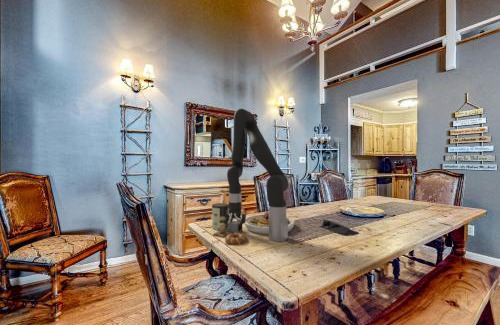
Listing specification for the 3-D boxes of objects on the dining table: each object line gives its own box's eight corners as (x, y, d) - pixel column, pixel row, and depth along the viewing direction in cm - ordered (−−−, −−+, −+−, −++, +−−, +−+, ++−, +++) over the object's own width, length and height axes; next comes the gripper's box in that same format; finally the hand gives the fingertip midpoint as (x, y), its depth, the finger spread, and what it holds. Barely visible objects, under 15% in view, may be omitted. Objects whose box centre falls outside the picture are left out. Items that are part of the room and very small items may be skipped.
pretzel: (231, 247, 108) (231, 240, 108) (220, 241, 117) (220, 234, 117) (251, 242, 115) (251, 235, 115) (240, 236, 124) (240, 229, 124)
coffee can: (229, 225, 145) (229, 203, 144) (227, 230, 134) (227, 206, 134) (213, 225, 145) (213, 203, 145) (210, 230, 134) (210, 206, 134)
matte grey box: (242, 230, 132) (242, 222, 132) (236, 233, 127) (236, 224, 127) (234, 229, 135) (234, 220, 135) (228, 231, 130) (228, 223, 130)
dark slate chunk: (341, 239, 120) (341, 230, 120) (316, 227, 141) (316, 219, 141) (364, 236, 125) (364, 227, 125) (336, 225, 146) (336, 217, 146)
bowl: (298, 237, 123) (298, 222, 123) (243, 236, 123) (243, 222, 123) (289, 221, 153) (289, 210, 153) (245, 221, 153) (245, 210, 153)
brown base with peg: (231, 234, 127) (231, 223, 127) (223, 237, 121) (223, 226, 121) (221, 231, 131) (221, 221, 131) (213, 235, 125) (213, 224, 125)
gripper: (249, 201, 130) (249, 230, 130) (229, 198, 138) (229, 226, 138) (241, 203, 124) (241, 233, 124) (221, 200, 131) (221, 229, 132)
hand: (235, 229), depth 131 cm, fingers closed on matte grey box, 5 cm apart
